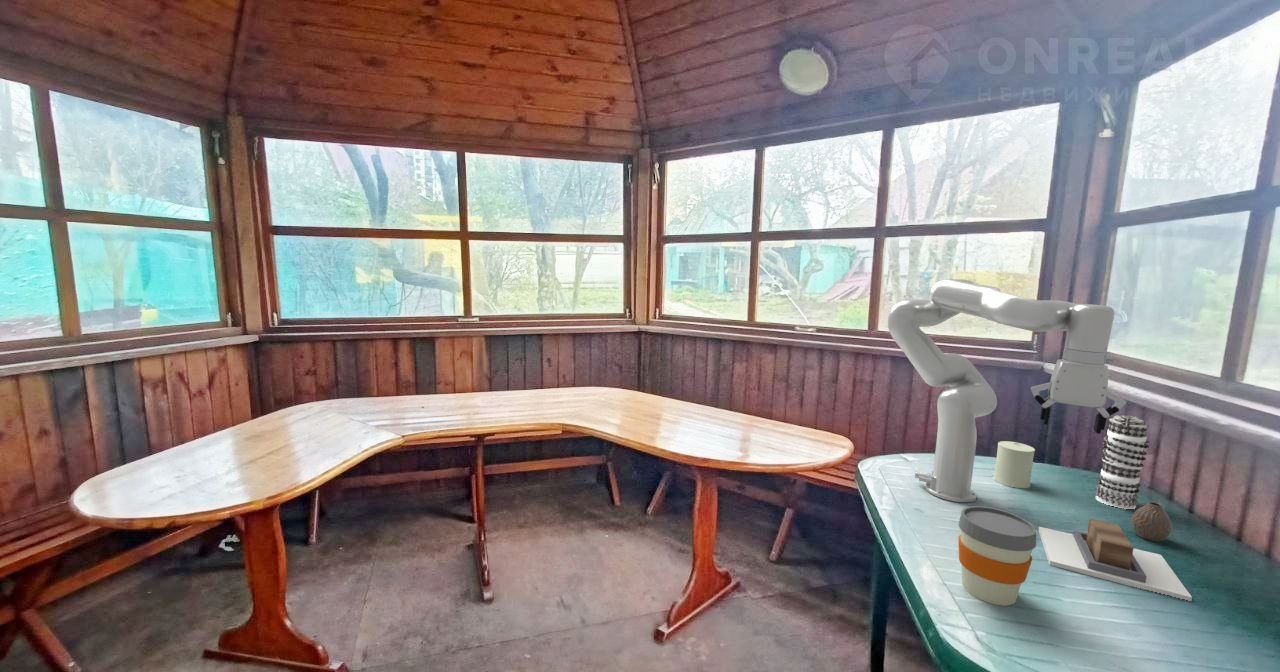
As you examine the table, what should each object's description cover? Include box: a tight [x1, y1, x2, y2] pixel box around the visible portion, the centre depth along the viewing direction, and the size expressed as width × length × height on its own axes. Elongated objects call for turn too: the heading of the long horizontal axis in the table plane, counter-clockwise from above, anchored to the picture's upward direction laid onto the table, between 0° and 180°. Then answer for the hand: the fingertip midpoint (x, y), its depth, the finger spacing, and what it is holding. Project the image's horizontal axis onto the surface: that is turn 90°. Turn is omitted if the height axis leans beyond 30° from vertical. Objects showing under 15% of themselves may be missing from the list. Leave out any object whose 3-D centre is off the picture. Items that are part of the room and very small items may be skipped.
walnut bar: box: [1086, 518, 1134, 570], centre depth 112 cm, size 12×5×6 cm, turn 148°
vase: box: [1131, 501, 1173, 543], centre depth 124 cm, size 7×7×9 cm
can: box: [992, 440, 1036, 489], centre depth 155 cm, size 9×9×12 cm
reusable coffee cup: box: [957, 505, 1037, 607], centre depth 100 cm, size 13×13×15 cm
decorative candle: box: [1095, 414, 1150, 510], centre depth 141 cm, size 9×9×25 cm
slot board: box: [1038, 526, 1193, 602], centre depth 113 cm, size 22×18×2 cm
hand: (1070, 427), depth 121 cm, fingers open, 9 cm apart
